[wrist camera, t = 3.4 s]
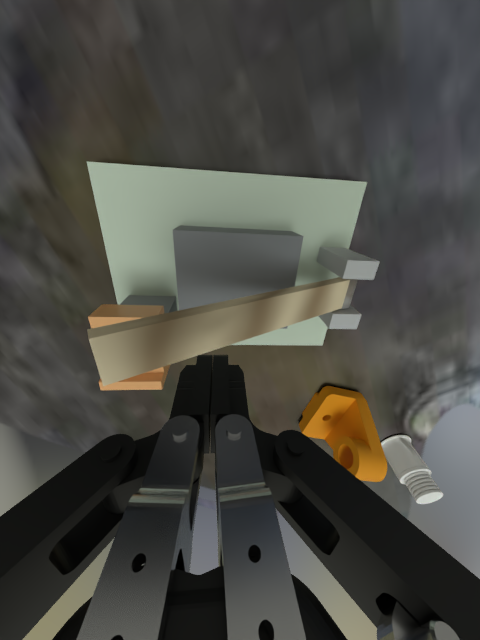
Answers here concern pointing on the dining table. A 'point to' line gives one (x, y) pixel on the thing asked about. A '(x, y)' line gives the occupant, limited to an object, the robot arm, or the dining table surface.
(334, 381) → the dining table surface
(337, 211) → the board
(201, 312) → the strap
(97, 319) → the block
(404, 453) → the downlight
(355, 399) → the bracket
